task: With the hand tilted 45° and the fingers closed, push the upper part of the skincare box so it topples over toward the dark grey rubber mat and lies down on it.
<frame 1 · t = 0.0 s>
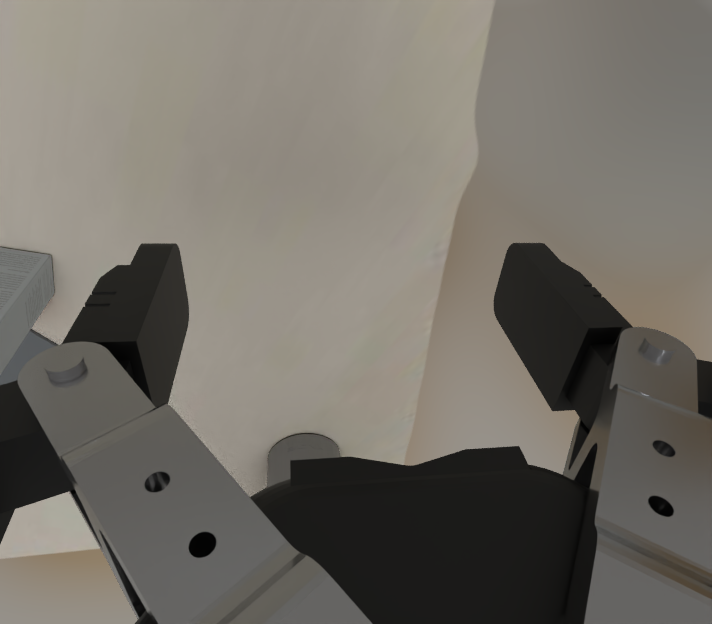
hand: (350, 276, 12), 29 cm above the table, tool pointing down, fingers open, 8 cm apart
skincare box: (18, 267, 42), on the table
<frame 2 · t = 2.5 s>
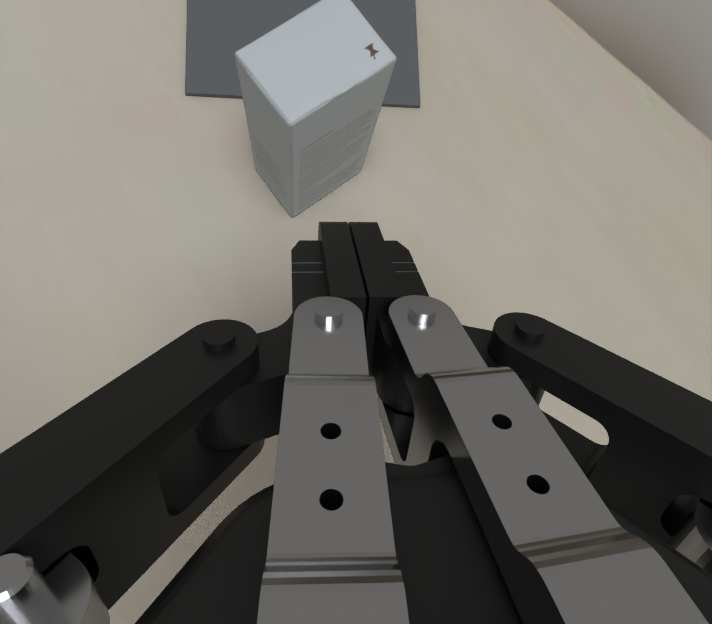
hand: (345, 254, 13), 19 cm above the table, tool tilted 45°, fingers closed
mat: (305, 22, 34), on the table
skincare box: (307, 172, 33), on the table
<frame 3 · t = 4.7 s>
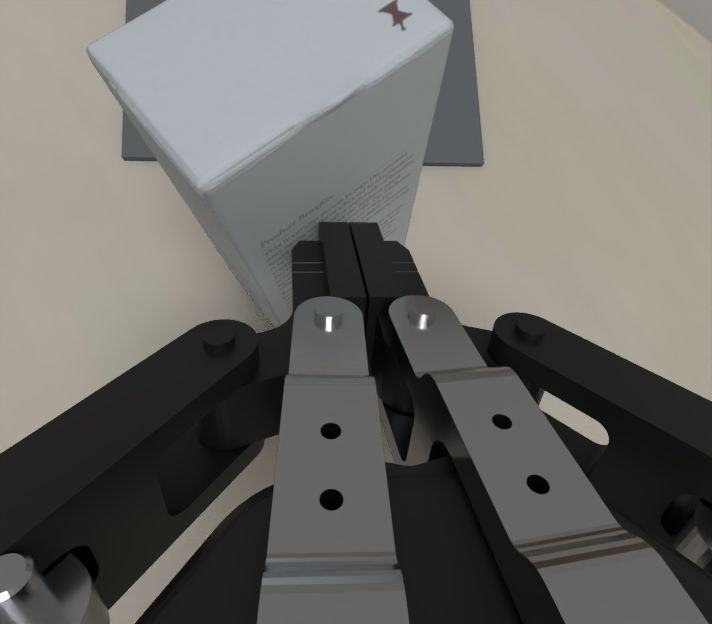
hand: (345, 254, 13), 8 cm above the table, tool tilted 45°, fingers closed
mat: (307, 42, 22), on the table
skincare box: (315, 272, 21), on the table
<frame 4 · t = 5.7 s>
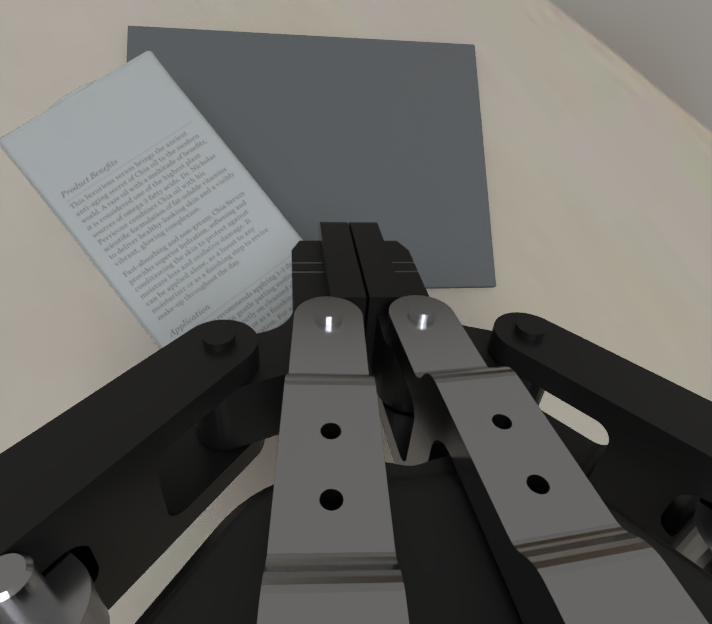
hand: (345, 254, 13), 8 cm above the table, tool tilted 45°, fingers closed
mat: (313, 160, 22), on the table
skincare box: (295, 374, 18), point 2 cm above the table, touching mat
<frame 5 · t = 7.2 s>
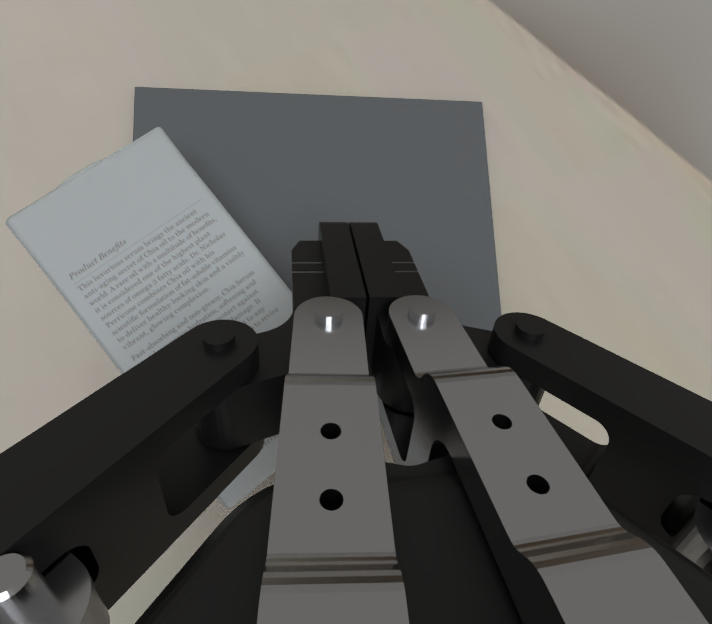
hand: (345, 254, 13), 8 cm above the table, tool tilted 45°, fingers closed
mat: (320, 221, 22), on the table
skincare box: (303, 449, 18), point 2 cm above the table, touching mat
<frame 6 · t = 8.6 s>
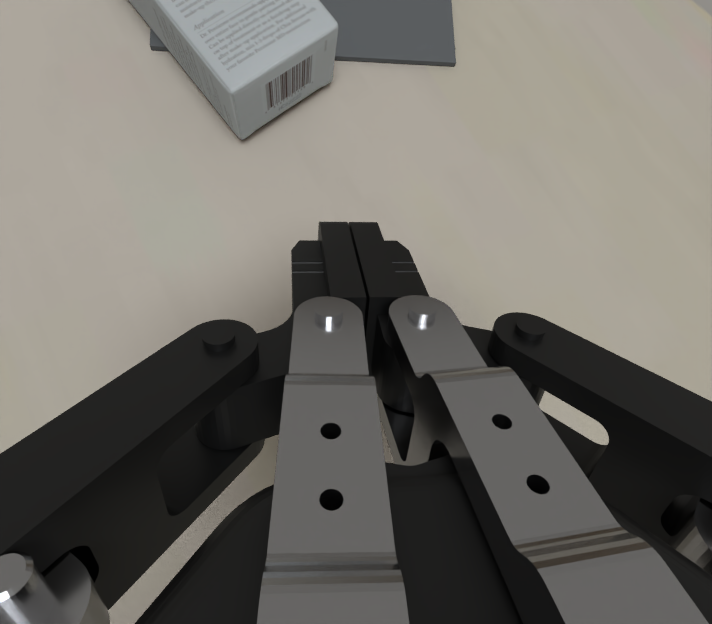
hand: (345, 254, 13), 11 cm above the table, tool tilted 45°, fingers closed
skincare box: (289, 92, 22), point 2 cm above the table, touching mat
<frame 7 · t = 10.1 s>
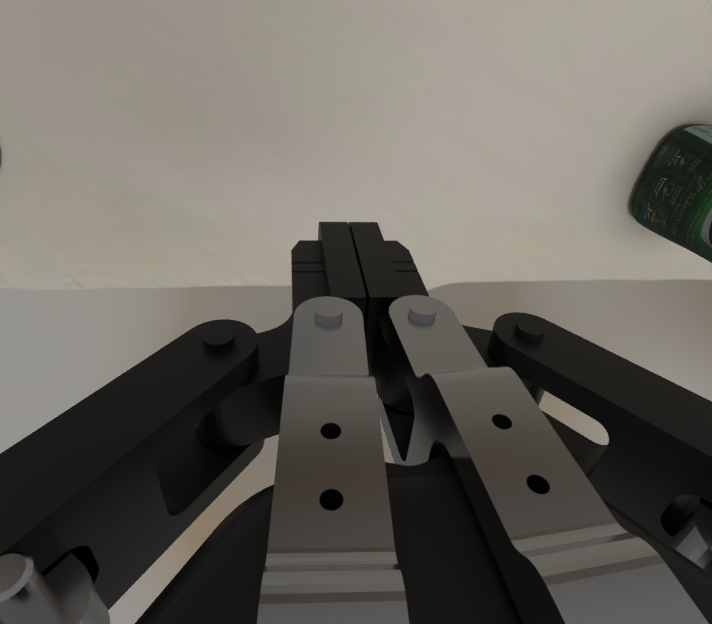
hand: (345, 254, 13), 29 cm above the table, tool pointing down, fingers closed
coffee jar: (676, 175, 45), on the table
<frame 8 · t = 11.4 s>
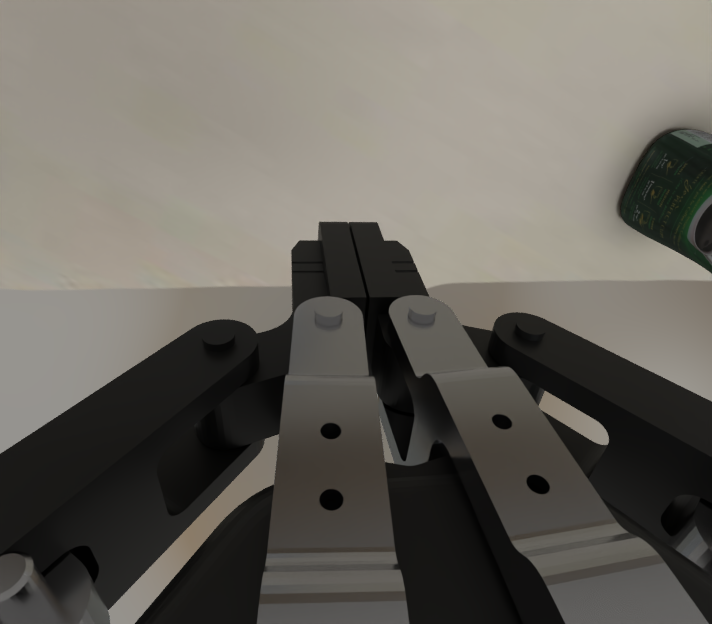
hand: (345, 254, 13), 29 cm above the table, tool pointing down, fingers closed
coffee jar: (663, 177, 46), on the table
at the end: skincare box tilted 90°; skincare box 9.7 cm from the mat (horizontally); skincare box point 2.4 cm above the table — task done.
